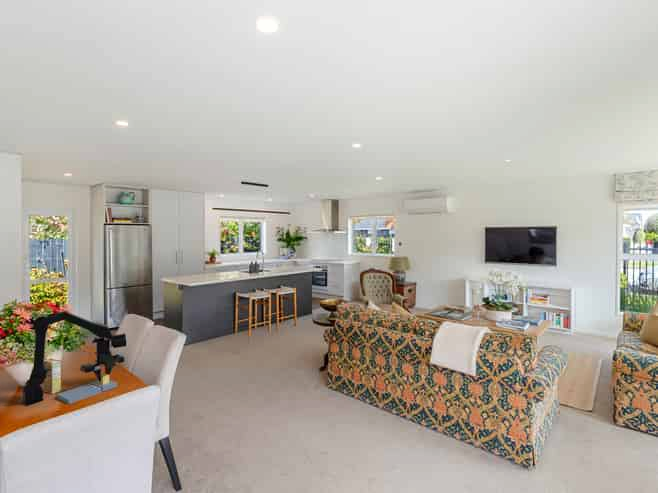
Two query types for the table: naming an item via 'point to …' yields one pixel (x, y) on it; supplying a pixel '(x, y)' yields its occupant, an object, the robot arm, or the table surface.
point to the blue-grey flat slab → (78, 393)
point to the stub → (104, 383)
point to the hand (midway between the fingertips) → (103, 380)
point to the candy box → (52, 376)
